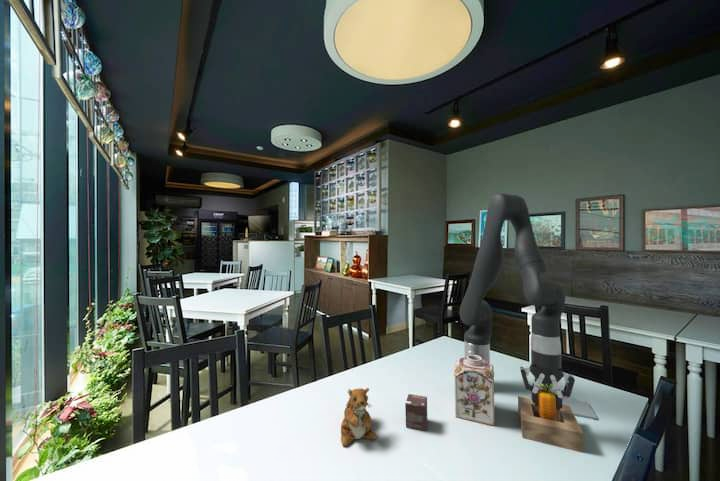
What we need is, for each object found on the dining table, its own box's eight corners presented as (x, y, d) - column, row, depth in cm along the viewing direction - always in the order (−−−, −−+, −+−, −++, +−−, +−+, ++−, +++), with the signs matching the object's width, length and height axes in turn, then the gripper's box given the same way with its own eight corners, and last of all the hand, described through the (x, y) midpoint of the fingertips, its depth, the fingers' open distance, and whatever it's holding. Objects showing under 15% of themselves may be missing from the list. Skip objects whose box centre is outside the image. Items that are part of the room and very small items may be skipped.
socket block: (522, 437, 80) (522, 419, 81) (518, 411, 93) (518, 396, 93) (583, 452, 75) (582, 433, 75) (570, 422, 87) (569, 406, 87)
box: (427, 420, 89) (427, 396, 89) (425, 431, 83) (425, 406, 84) (408, 416, 91) (408, 393, 91) (405, 427, 85) (405, 403, 86)
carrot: (560, 436, 81) (559, 383, 81) (541, 434, 82) (540, 382, 82) (552, 425, 86) (551, 375, 86) (534, 423, 87) (533, 374, 87)
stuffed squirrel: (342, 449, 77) (341, 400, 77) (337, 418, 90) (337, 376, 91) (377, 444, 78) (377, 396, 79) (367, 414, 92) (367, 374, 92)
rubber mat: (558, 412, 93) (558, 410, 93) (552, 397, 102) (552, 395, 102) (597, 419, 88) (597, 417, 88) (587, 403, 97) (587, 401, 97)
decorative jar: (494, 407, 96) (493, 353, 96) (495, 427, 85) (494, 367, 86) (457, 399, 101) (457, 348, 101) (453, 417, 90) (453, 360, 91)
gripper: (519, 349, 84) (520, 407, 84) (578, 357, 78) (580, 419, 78) (517, 341, 91) (518, 395, 90) (571, 348, 85) (573, 405, 84)
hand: (546, 406), depth 84 cm, fingers closed on carrot, 5 cm apart
